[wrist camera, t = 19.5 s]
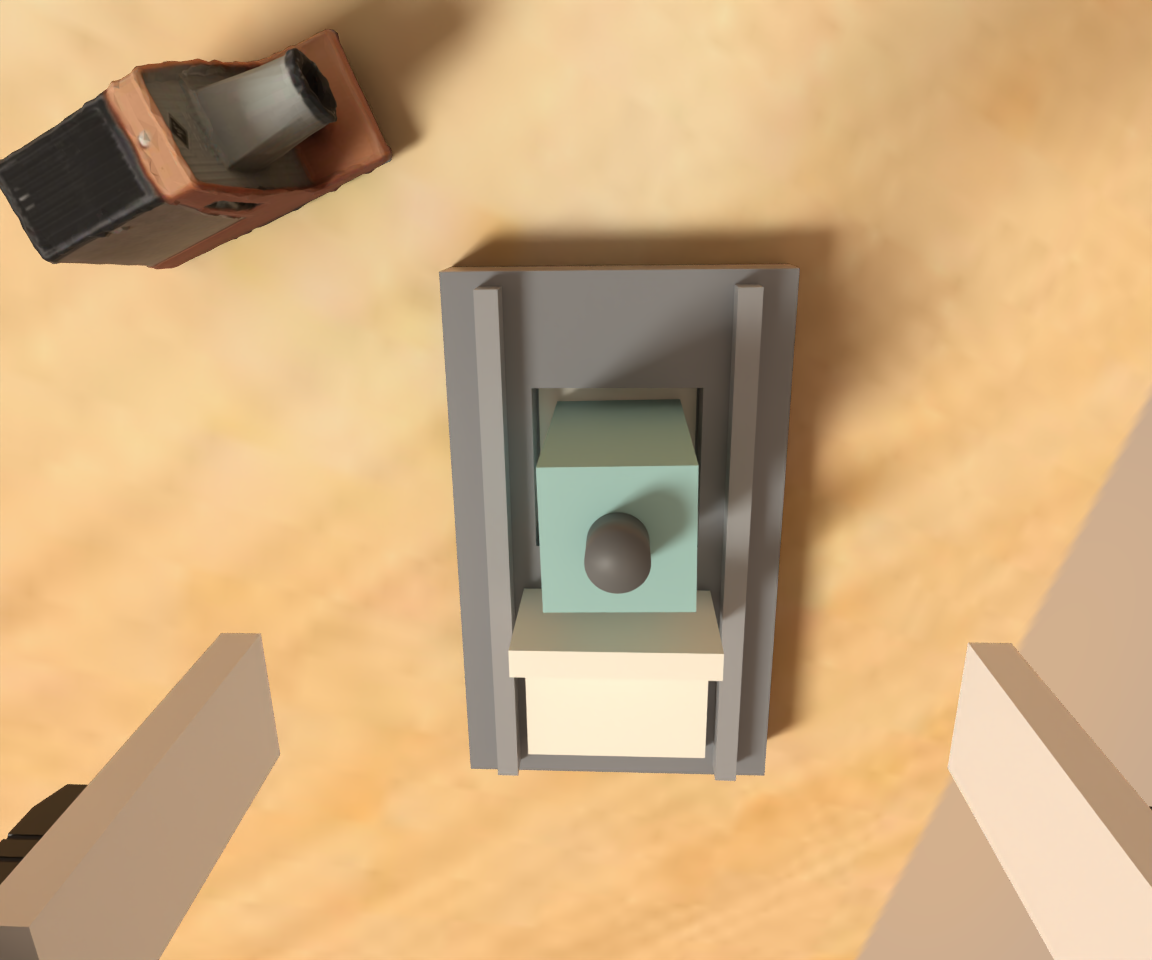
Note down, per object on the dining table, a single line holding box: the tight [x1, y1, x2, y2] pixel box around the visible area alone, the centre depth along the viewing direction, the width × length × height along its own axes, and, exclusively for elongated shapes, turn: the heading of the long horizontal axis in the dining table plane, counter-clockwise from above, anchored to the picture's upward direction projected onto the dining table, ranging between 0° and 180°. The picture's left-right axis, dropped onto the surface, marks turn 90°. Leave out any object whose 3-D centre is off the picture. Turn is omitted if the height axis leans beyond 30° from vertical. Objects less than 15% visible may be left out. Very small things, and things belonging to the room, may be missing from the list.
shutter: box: [508, 588, 724, 758], centre depth 31 cm, size 7×7×5 cm
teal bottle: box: [536, 399, 699, 613], centre depth 27 cm, size 4×4×10 cm
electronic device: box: [0, 29, 392, 269], centre depth 26 cm, size 4×10×8 cm, turn 114°
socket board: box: [439, 264, 800, 781], centre depth 32 cm, size 20×12×3 cm, turn 1°
